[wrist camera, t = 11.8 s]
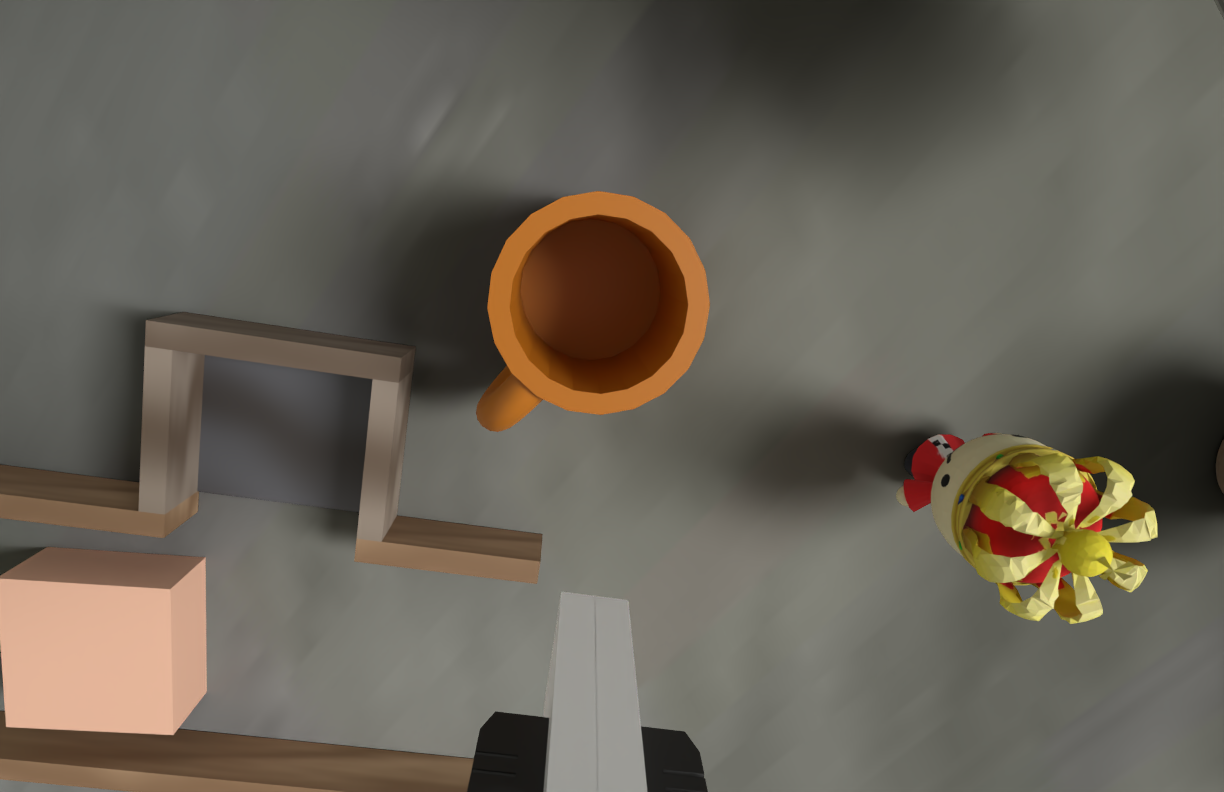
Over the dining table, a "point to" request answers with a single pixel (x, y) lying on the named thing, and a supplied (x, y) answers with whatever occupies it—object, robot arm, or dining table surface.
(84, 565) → the block
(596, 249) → the mug
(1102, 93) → the dining table surface
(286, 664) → the dining table surface
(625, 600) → the robot arm
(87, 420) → the dining table surface
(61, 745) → the wooden tray frame
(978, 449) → the toy
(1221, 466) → the flower pot
